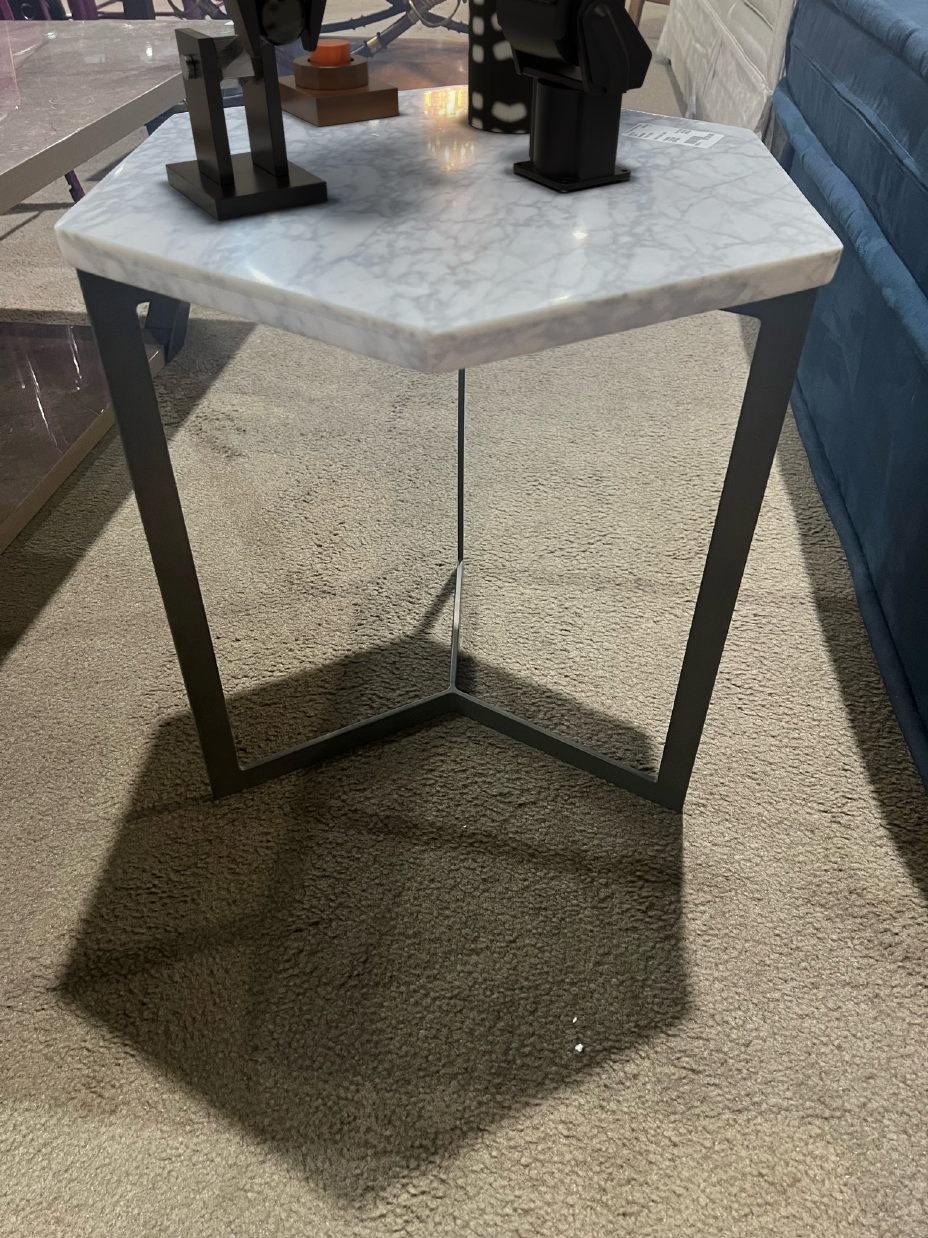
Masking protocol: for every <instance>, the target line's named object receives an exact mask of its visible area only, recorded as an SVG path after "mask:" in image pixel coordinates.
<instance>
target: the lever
mask: <svg viewBox="0 0 928 1238" xmlns="http://www.w3.org/2000/svg"><path fill="white" fill-rule="evenodd" d="M255 4H256V9H257V15H258V21H259V27H260V42H261V48H262V47H263V46H264V45H265V44H266V43H269V44H271V45H274V46H275V47H287V46H291V45H292V44H294V43H295V42H297V41H298V40H299V39H300V38H301V37H300V36H301V35H302V33H303V31H304V29H305V26H306V20H307V12H306V6H305V3H304V0H255ZM212 37H213V40H214V46H215V53H216V60H217V66H218V73H219V80H220V86H221V90H225V89H233V88H234V89H235V88H242V86H244V85H245V84H246V83H247V82H248V81H249V80H250V79H252V78H253V77H254V76H255V73H254V69H253V65H252V61H251V57H252V56H250V55H249V54H248V53H247V51H246V48H245V46H244V44H243V42H242V40H241V38H240V36H239V34H238V35H235V34H230V35H218V36H212Z"/></svg>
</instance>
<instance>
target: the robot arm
mask: <svg viewBox="0 0 928 1238" xmlns="http://www.w3.org/2000/svg"><path fill="white" fill-rule="evenodd" d="M222 2H223V4H224V6H225V9H226V10H227V13H228V15H229V17H230V19H231V21H232V24H233V26H234V25H235V28H236V30H237V32H238V34H239V36H240V38H241V40H242V42H243V44H244V46H245V48H246V51H247V53H248V54H249V55H250V56H252V57H254V58H258V57H261V42H260V27H259V21H258V15H257V9H256V4H255V0H222ZM327 2H328V0H304V3H305V6H306V12H307V20H306V26H305V29H304V31H303V33H302V35H301V36H300V37H299V38H300V40H301V42H300V43H301V46H302V49H303V50H304V51H306V52H314V51H316V49H317V45H318V40H319V39H320V35H321V30H322V25H323V20H324V16H325V11H326V6H327ZM626 2H627V0H497V7H496V15H497V22H498V25H499V26H500V27H501V29H502V31H503V33H504V35H505V37H506V39H507V41H508V42H509V43H510V46H511V51H512V55H513V59H514V63H515V68H516V72H517V73H518V74H520V75H528V76H532V77H534V83H533V98H532V100H531V116H530V133H529V139H528V143H529V144H528V158H529V160H528V159H527V160H523V161H517V162H514V163H513V164H512V171H513V172H516V173H518V174H521V175H523V176H525V177H528V178H530V179H532V180H535V181H537V182H539V183H542V184H544V185H545V186H549V187H551V188H553V189H556V190H559V191H570V190H576V189H581V188H585V187H586V188H587V187H591V186H597V185H603V184H607V183H610V182H616V181H622V180H626V179H627V180H628V179H630V178H631V177H632V170H631V169H629V168H627V167H624V166H620V165H617V154H618V146H619V145H618V144H619V135H620V127H621V126H620V124H621V117H622V116H621V115H622V106H623V105H622V104H623V94H627V92H629V91H630V90H637V89H642V87H643V85H644V82H645V79H646V77H647V73H648V71H649V68H650V66H651V61H652V59H653V52H652V50H651V48H650V47H649V45H648V43H647V42H646V40H645V38H644V37H643V35H642V34H641V31H640V30H639V28H638V26H637V25H636V23H635V21H634V20H633V18H632V16H631V15H630V13H629V12H628V10H627V9H626Z"/></svg>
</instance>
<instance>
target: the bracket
mask: <svg viewBox="0 0 928 1238" xmlns="http://www.w3.org/2000/svg"><path fill="white" fill-rule="evenodd" d="M233 33H234V35H238V32H237V30H236V28H235V25H234V24H233ZM174 34H175V35H174V36H175V40H176V41H175V42H176V46H177V53H178V58H179V67H180V70H181V75H182V80H183V86H184V87H183V88H184V92H185V98H186V99H185V100H186V104H187V110H188V115H189V122H190V127H191V133H192V138H193V139H192V140H193V144H194V151H195V156H196V159H192V160H185V161H178V162H172V163H166V164H165V170H166V171H165V172H166V175H167V181H168V184H169V185H171V187H173V188H175V189H176V190H177V191H179V192H180V193H181V194H182V195H184V196H185V197H186V198H188V199H189V200H190V201H192V202H193V203H194V204H195V205H197V206H198V207H200V208H201V209H203V210H204V211H205V212H206V213H208V214H209V215H210V216H211V217H213V218H214V219H215V220H217V221H218V222H219V221H226V220H230V219H236V218H241V217H247V216H253V215H259V214H264V213H265V214H266V213H269V212H275V211H281V210H287V209H292V208H293V209H294V208H298V207H304V206H308V205H315V204H320V203H326V202H329V195H328V185H327V184H328V183H327V181H326V180H324V179H323V178H321V177H319V176H317V175H315V174H314V173H312V172H310V171H308V170H306V169H305V168H303V167H301V166H300V165H298V164H297V163H295V162H293V161H290V160H289V159H288V152H287V143H286V134H285V126H284V125H285V124H284V116H283V109H282V107H281V98H280V89H279V80H278V77H279V73H278V63H277V55H276V46H274V45H271V44H269V43H266V44H265V45H264V46H263V47H262V48H261V57H258V58H254V57H251V61H252V65H253V69H254V73H255V76H254V77H253V78H252V79H250V80H249V81H248V82H247V83H246V84H245V85H244V86H242V87H241V91H242V97H243V99H242V100H243V105H244V112H245V119H246V127H247V134H248V141H249V149H250V151H246V152H240V153H239V152H238V153H232V154H231V148H230V140H229V134H228V128H227V120H226V114H225V107H224V102H223V101H224V100H223V94H222V89H221V86H220V80H219V73H218V66H217V60H216V53H215V46H214V40H213V37H214V36H210V35H208V34H206V33H202V32H201V31H199V30H195V29H193V28H191V27H182V28H174Z"/></svg>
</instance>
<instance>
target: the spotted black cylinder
mask: <svg viewBox="0 0 928 1238" xmlns="http://www.w3.org/2000/svg"><path fill="white" fill-rule="evenodd" d="M467 1H468V3H467V6H468V8H467V10H468V11H467V12H468V13H467V14H468V16H467V19H468V21H467V25H468V26H467V33H468V34H467V61H468V62H467V122H468V124H469V125H470V126H472V127H474V128H477V129H479V130H482V131H488V132H493V133H501V134H530V116H531V100H532V98H533V83H534V77H532V76H528V75H520V74H518V73H517V72H516V68H515V63H514V59H513V55H512V51H511V46H510V43H509V42H508V41H507V39H506V37H505V35H504V33H503V31H502V29H501V27H500V26H499V25H498V22H497V15H496V7H497V0H467Z"/></svg>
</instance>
